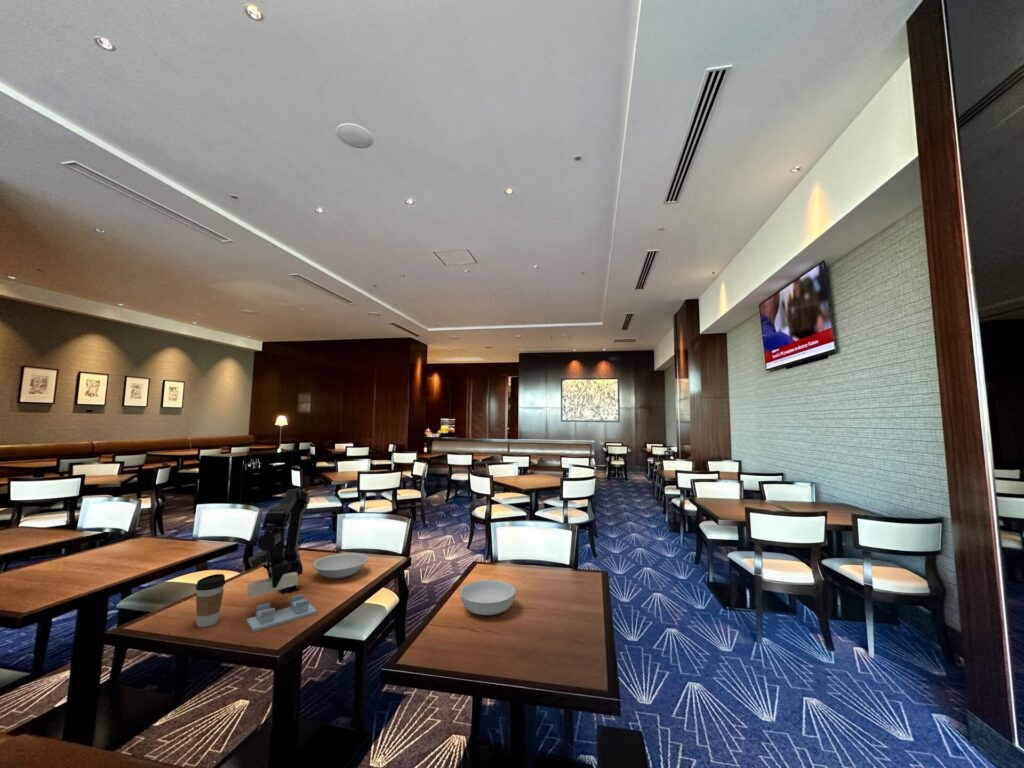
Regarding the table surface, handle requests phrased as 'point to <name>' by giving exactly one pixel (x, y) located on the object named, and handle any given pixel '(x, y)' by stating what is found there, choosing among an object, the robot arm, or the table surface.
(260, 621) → the rack
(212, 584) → the coffee cup
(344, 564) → the soup bowl
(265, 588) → the strip
